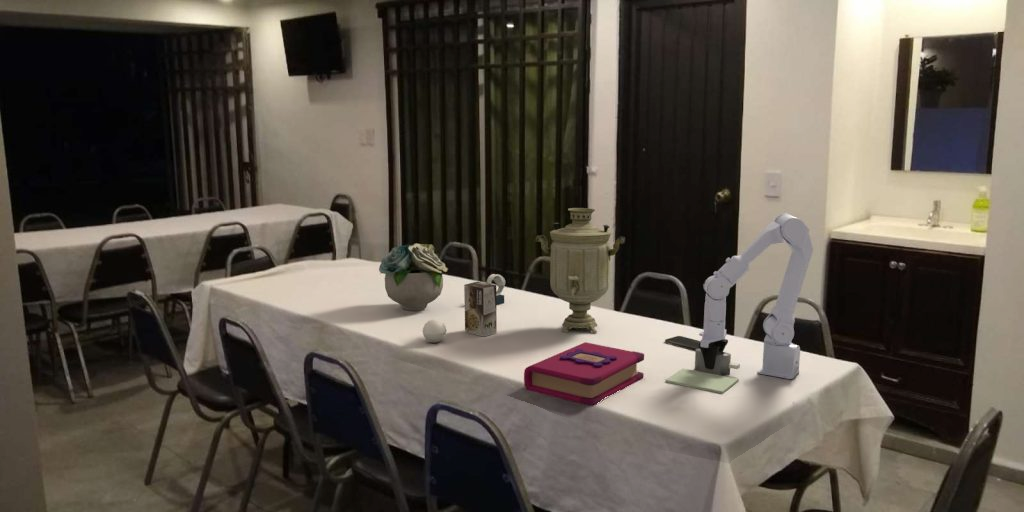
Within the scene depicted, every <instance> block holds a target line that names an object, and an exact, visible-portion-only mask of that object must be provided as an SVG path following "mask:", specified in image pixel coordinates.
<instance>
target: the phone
mask: <svg viewBox="0 0 1024 512" xmlns="http://www.w3.org/2000/svg"><path fill="white" fill-rule="evenodd" d="M664 343H666V344H668V345H673V346H676V347H680V348H683V349H687V350H691V351H696V349H700V348H699V343H701V340H697V339H693V338H690V337H686V336H683V335H682V336H681V335H676V336H673V337H670V338H666V339H664Z"/></svg>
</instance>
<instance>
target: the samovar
mask: <svg viewBox="0 0 1024 512" xmlns="http://www.w3.org/2000/svg"><path fill="white" fill-rule="evenodd" d="M567 210H568V211H569V213H570V215H569V217H570V220H571V221H572V222H571V223H569V224H567V225H565V227H562V228H559V224H560V223H559V222H554V223H552V226H554V230H551V231H550V232H549V233H550V238H551V240H552V242H551V245H550V247H549V242H548V239H547V237H546V236H545V235H541V234H540V235H538V234H537V235H536V236H535V238H534V241H535V242H536V243H537V242H540V248H541V250H542V251H543V253H544V254H547V255H549V257H550V263H549V264H550V268H549V269H550V270H549V273H550V274H549V275H550V277H549V278H550V282H549V283H550V289H551V291H552V292H553V294H554V295H556V296H557V297H558V298H559V299H561V300H562V301H564V302H565V303H569V304H568V307H569V310H571V311H572V313H571V314H570V313H569V314H568V315H567V317H565V318H564V320H563V322H562V325H564V328H563V329H562V330H561V333H563V334H565V333H568V331H570V330H571V329H573V328H575V329H579V328H580V329H585V328H586V329H588V330H589V331H590V332H591V334H594V335H595V334H597V333H598V331H597V329H595V326H598V324H597V322H596V319H595V318H594V317H593V316H592V315H591V314H589V313H588V311H590V310H591V303H594V302H597V301H598V300H599V299H601V298H602V297H603V296H604V295H605V296H606V293H607V292H608V290H609V287H610V265H611V263H610V262H611V257H612V256H615V254H616V253H617V252H618V251H619V249H620V245H623V244H625V243H626V237H625V236H618V237H617V238H616V240H615V241H614V244H613V245H612V248H611V246H610V244H609V241H610V238H611V234H612V232H611V231H609V228H610V225H608V224H603V225H602V226H603V229H601V228H598V227H597V226H596V225H594V224H592V223H590V222H591V220H592V214H593V213H594V212H595V211H596V209H593V208H588V207H587V208H586V207H585V208H584V207H572V208H571V207H570V208H568V209H567Z"/></svg>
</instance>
